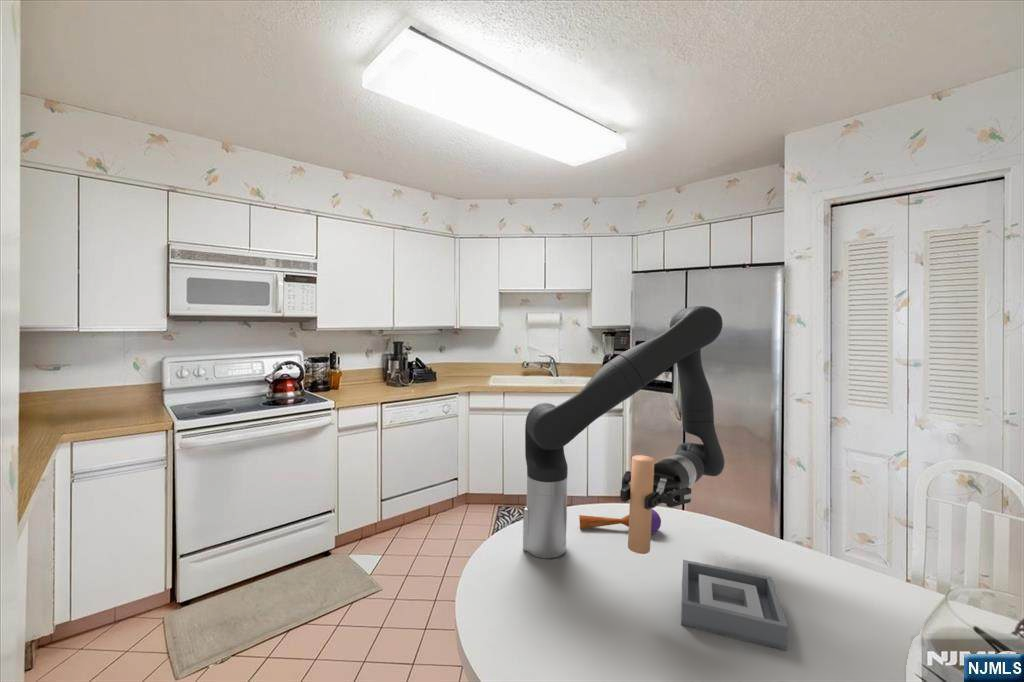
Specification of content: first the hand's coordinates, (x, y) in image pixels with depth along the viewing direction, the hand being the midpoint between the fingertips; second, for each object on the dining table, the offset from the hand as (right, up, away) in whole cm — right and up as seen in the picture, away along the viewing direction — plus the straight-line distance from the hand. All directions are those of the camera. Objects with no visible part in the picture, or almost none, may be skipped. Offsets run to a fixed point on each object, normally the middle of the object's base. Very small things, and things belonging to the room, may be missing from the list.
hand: (634, 499), depth 81 cm
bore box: (+18, -21, +1) cm, 27 cm away
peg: (+2, -10, +3) cm, 10 cm away
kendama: (+5, -19, +32) cm, 38 cm away
